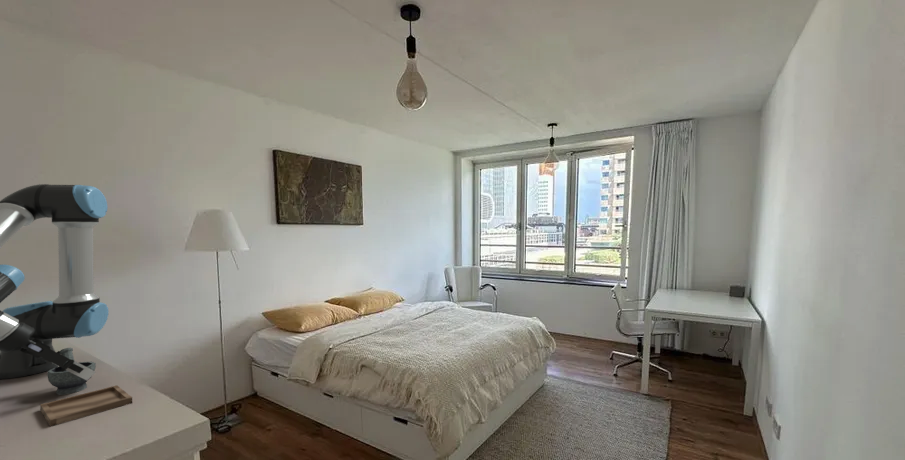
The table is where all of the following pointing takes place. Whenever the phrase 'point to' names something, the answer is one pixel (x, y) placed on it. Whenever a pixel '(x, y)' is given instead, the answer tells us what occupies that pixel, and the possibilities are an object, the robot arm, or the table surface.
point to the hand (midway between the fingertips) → (84, 372)
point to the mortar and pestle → (68, 376)
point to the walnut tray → (84, 405)
